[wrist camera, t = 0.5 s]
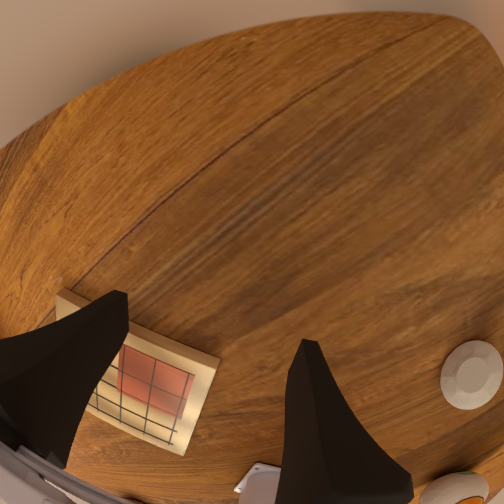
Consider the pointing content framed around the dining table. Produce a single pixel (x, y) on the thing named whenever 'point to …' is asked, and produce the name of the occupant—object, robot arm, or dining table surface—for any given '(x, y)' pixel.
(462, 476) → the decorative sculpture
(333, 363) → the dining table surface
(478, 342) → the gemstone
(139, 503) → the rock
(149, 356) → the board
